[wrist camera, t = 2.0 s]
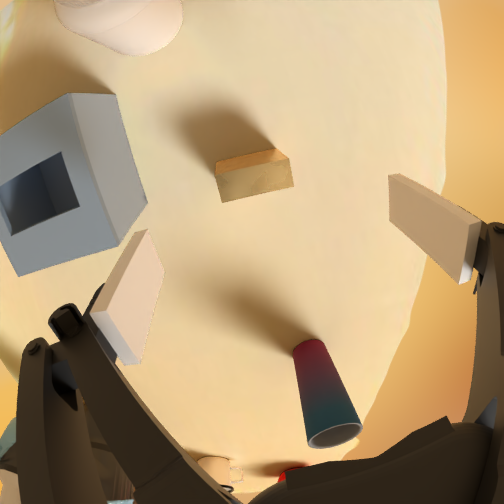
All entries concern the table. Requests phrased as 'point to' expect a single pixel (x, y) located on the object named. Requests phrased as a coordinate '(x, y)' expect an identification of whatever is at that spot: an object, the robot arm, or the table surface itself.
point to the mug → (219, 471)
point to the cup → (323, 398)
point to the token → (253, 174)
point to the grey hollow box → (67, 182)
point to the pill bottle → (123, 22)
